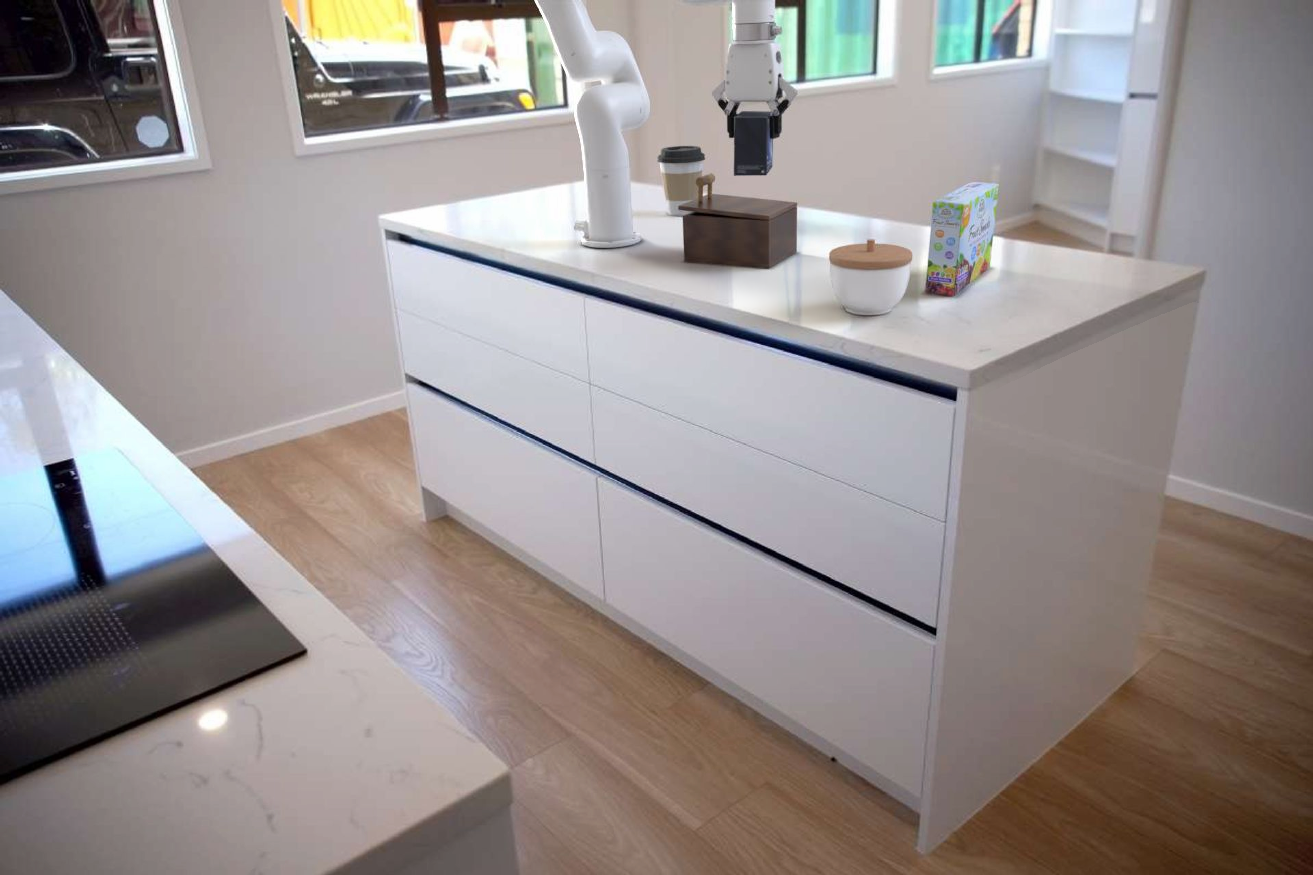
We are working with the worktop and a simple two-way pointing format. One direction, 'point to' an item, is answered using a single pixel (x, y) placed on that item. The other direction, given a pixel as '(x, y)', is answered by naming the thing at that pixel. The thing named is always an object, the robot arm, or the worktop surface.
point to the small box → (752, 143)
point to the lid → (734, 203)
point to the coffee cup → (680, 175)
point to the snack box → (961, 237)
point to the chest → (739, 239)
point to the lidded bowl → (869, 276)
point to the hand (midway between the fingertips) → (754, 137)
